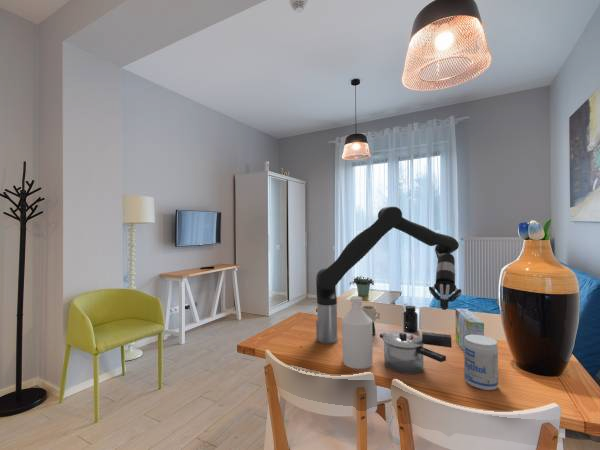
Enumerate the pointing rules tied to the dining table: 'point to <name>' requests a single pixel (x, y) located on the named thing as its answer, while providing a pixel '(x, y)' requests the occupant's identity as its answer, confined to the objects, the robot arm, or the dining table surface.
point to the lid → (416, 340)
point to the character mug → (371, 314)
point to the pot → (407, 358)
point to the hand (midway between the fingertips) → (444, 308)
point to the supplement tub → (481, 362)
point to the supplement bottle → (410, 319)
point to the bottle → (357, 336)
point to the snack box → (467, 325)
